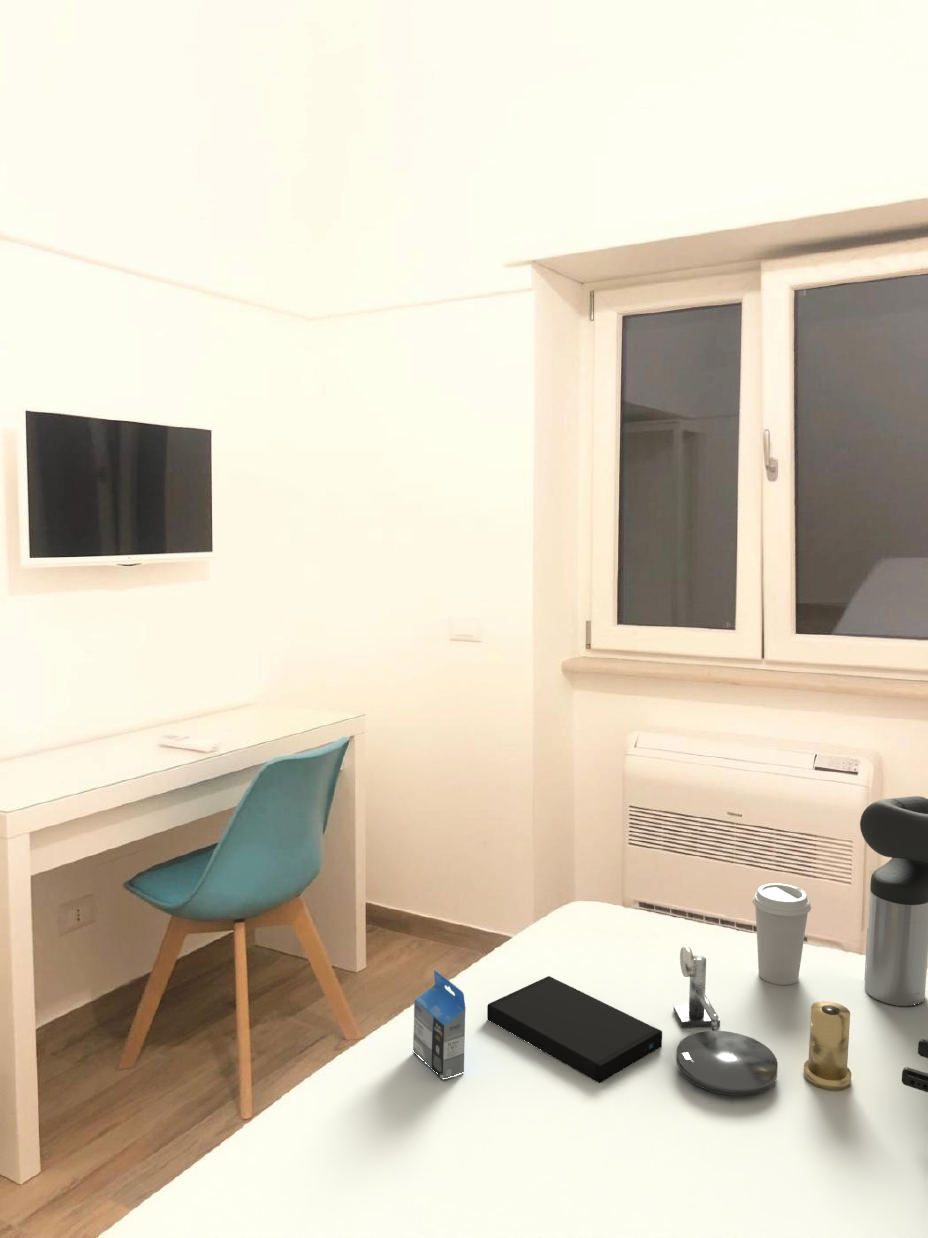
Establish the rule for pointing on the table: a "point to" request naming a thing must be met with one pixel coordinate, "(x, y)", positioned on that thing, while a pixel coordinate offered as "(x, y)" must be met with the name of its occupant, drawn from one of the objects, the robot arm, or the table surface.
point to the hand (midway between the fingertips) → (910, 1060)
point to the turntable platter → (727, 1063)
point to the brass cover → (828, 1047)
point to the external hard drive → (575, 1028)
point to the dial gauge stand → (695, 994)
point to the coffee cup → (780, 931)
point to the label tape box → (440, 1027)
